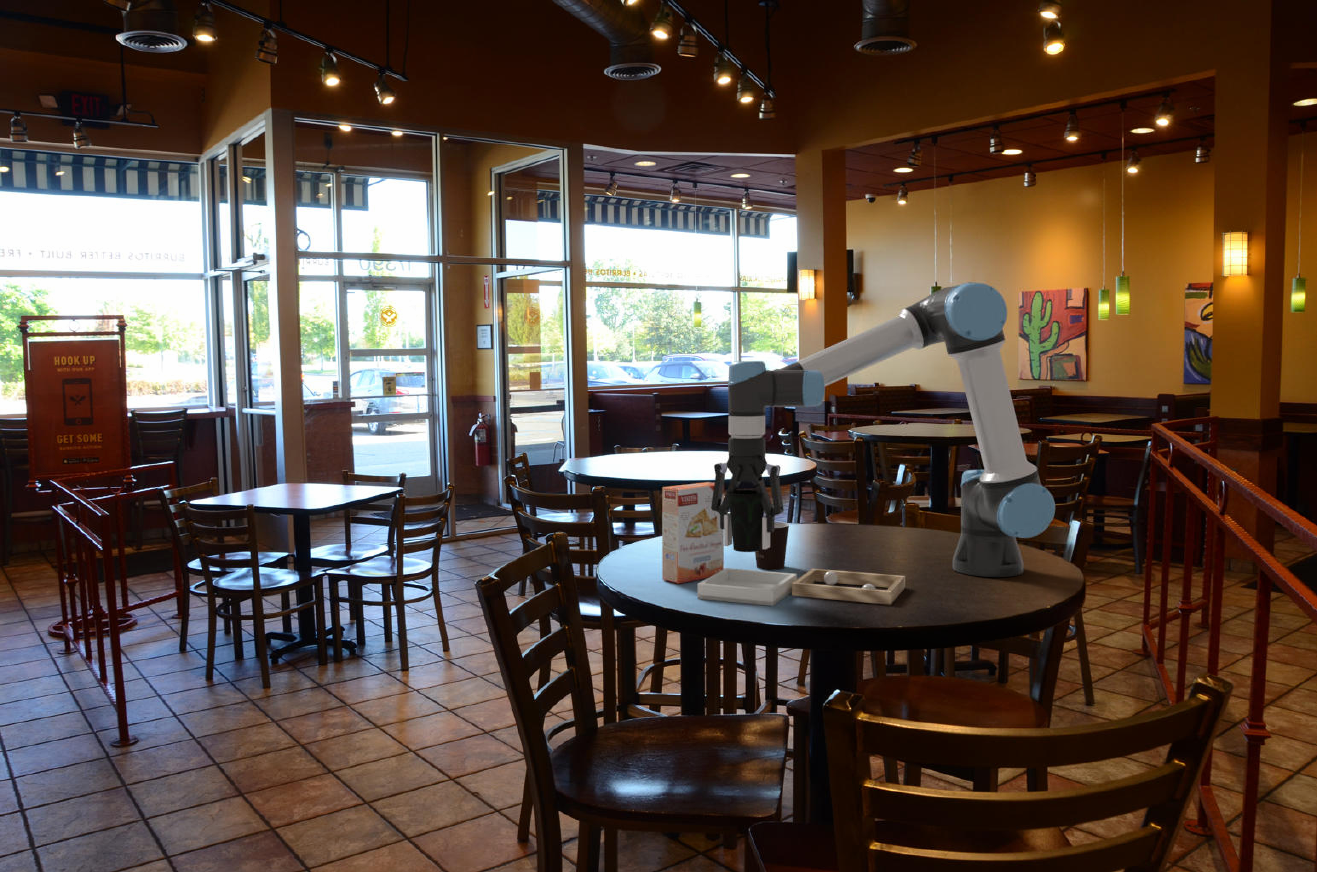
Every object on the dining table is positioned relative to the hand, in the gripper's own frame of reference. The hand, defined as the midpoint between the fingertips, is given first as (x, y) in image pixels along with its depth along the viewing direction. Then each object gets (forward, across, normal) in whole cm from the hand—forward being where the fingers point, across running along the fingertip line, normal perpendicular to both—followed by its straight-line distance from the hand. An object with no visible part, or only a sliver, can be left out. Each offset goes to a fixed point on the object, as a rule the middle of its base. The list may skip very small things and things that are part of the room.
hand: (747, 546), depth 197 cm
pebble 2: (+10, -24, -5) cm, 26 cm away
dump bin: (+10, 0, 0) cm, 10 cm away
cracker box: (+10, +16, -9) cm, 21 cm away
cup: (+1, 0, 0) cm, 1 cm away
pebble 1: (+10, -14, -13) cm, 22 cm away
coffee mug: (+10, +4, -27) cm, 29 cm away
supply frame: (+10, -19, -9) cm, 23 cm away
